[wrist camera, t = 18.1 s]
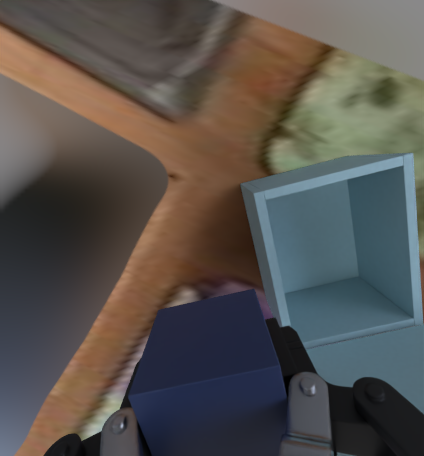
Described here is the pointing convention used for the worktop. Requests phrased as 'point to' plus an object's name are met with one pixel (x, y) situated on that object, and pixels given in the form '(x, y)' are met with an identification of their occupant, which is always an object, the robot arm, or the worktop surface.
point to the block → (211, 381)
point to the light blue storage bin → (339, 246)
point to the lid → (377, 362)
